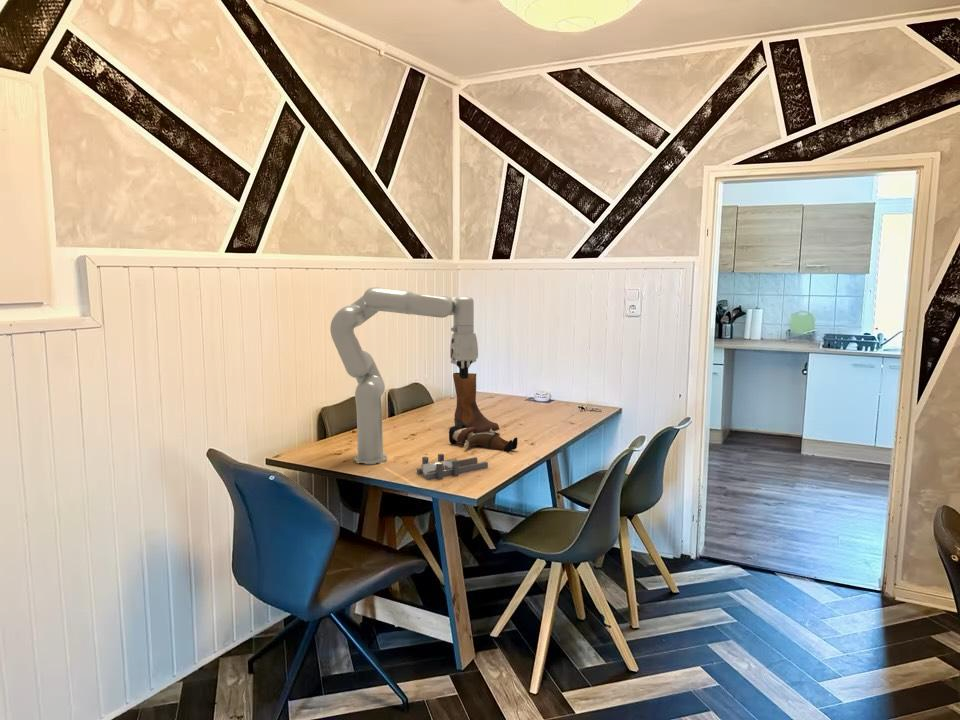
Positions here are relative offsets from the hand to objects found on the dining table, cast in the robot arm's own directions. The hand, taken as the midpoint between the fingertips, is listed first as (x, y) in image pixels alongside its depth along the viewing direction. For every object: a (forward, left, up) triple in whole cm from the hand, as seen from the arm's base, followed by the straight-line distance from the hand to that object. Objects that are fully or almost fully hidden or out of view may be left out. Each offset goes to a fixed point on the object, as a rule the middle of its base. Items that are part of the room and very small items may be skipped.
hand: (463, 378), depth 240 cm
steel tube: (+12, -18, -31) cm, 38 cm away
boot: (-35, +29, -32) cm, 56 cm away
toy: (-10, +16, -32) cm, 38 cm away
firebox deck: (+12, -12, -32) cm, 36 cm away
